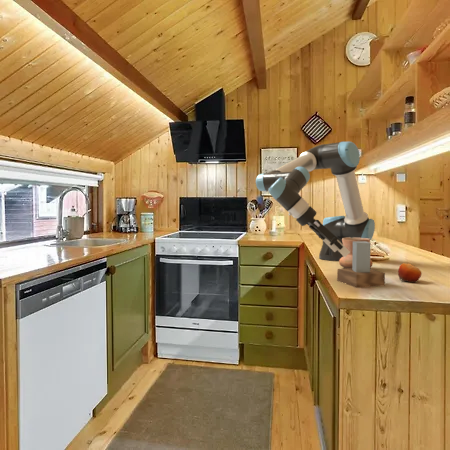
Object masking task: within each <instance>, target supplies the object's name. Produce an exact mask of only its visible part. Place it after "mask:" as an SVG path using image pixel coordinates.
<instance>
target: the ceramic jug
mask: <svg viewBox="0 0 450 450" xmlns="http://www.w3.org/2000/svg"><path fill="white" fill-rule="evenodd" d="M353 241H366V242H369V243H371V240H370V239H369V238H355V237H354V238H350V237H349V238H342V242H343V245H344V246H345V247H346V248H347V249H348V250H349V251H350V253H349V254H348V255H347V256H346V257H344V256H343V257H342V258H341V259H340V260H339V261H338V263H339V265H340V266H341V267H342V268H343V269H347V268H352V260H353ZM373 263H374V262H373V260H372V259H371V258H370V268H371V267H373Z"/></svg>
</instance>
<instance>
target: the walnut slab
mask: <svg viewBox="0 0 450 450" xmlns="http://www.w3.org/2000/svg"><path fill="white" fill-rule="evenodd" d="M385 274H386V272H384V271H379V270H375V269H371V268H370V272H355V271H353V270H352V268H347V269H346V268H337V279H336V281H337V282H339V283H342V282H343V283H342V284H345V283H346V284H345V285H348V286H351V287H354V288H369V287H382V286H385V283H386V282H385V281H386V280H385V279H386V278H385Z"/></svg>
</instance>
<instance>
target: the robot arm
mask: <svg viewBox="0 0 450 450" xmlns="http://www.w3.org/2000/svg"><path fill="white" fill-rule="evenodd" d="M360 160H361V159H360V151H359V148H358V146H357V145H356V144H355V143H354V142H352V141H340V142H332V143H323V144H319V145H316V146H313V147H311V148H309V149H308V150H305V151H304V152H302V153H300V155H299V156H298V157H297V158H295V159H293V160H291V161H289V162H287V163H285V164H283V165H282V166H280V167H277V168H276V169H274V170H271V171H269V172H264V173H260V174H259V173H258V175H257V176H256V178H255V186H256V188H257V190H258V191H260V192H268V193H269V194H270V196H271V197H272V198H273V199H274V200H275V201H276V202H277V203H278V204H279V205H281V206H282V208H283V209H284V210H285V211H287V212H288V214H287V215H288V216H290V217H291V216H292V217H293V219H295V220H296V222H297V223H298V224H299V225H301V226H302V227H304V226H308V227H309V229H310V230H312V232H314V234H316V236H318V238H319V239H321V240H322V245H321V248H320V250H319V256H318V259H320V260H324V261H333V262H334V261H338V262H339V260H340V259H341V258H342V257H343V256H344V257H346V256H347V255H348V254H349V253H350V251H349V250H348V249H347V248H346V247H345V246H344V245H343V242H342V238H349V237H350V238H354V237H355V238H369V239H370V241H371V240H372V239H373V237H374V233H375V229H376V227H375V226H376V224H375V223H376V222H375V219H373V218H369V215H368V213H367V212H365V210H364V206H363V203H362V198H361V194H360V189H359V186H358V181H357V176H356V173H355V171H356V169H357V168H358V167H357V166H358V165H360V164H359V163H360ZM323 169H324V170H327V169H330V171H331V174H332V175H333V176H335V178H336V182H337V186H338V189H339V192H340V198H341V201H342V205H343V209H344V213H345V215H337V216H328V217H327V216H326V217H324V218H323V221H322V222H321V221H320V220H319V219H316V218H315V217H316V216H317V211H316V210H315V209H314V208H313V207H312V206H311V205H310V204H309V203H308V202H307V200H306V199H304V198H303V197H302V196H301V195H300V194H299V193H300V192H301V191H302V189H303V188H304V187H305V186H307V184H308V183H309V180H310V178H311V175H310V172H312V171H316V170H323ZM309 205H310V206H309Z"/></svg>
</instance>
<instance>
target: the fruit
mask: <svg viewBox="0 0 450 450" xmlns="http://www.w3.org/2000/svg"><path fill="white" fill-rule="evenodd" d="M397 274H398V277H399V278H398V279H399V280H400V281H401V283H403V282H408V283H409V282H410V283H416V282H418V281H419V279H420V278H421V276H422V271H421V270H420V268H418V267H417V266H415V265H412V264H411V263H405V262H403V263H401V264H400V265H399V268H398V270H397Z"/></svg>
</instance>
